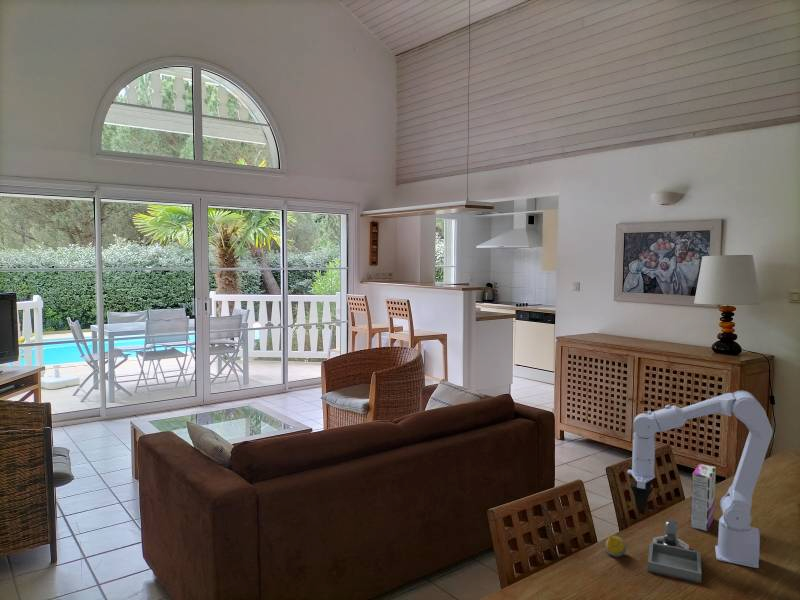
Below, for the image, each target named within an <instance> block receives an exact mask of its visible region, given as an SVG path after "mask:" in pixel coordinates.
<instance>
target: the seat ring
mask: <svg viewBox="0 0 800 600" xmlns="http://www.w3.org/2000/svg"><path fill="white" fill-rule="evenodd" d="M664 540H665V535H660V536H659V535H658V536H654V537H652V542H654V543H663V541H664ZM677 543H678V544H679V547H680V546H681V548H683V549H688V550H690V545H689V544H688V543H686V541H683V540H682V539H680V538H677Z"/></svg>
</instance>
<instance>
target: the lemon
mask: <svg viewBox="0 0 800 600" xmlns="http://www.w3.org/2000/svg"><path fill="white" fill-rule="evenodd" d="M604 549H605V551H606V552H607V554H608V555H610V556H611V557H614V558H619V557H622V556H623V555H624V554H626V551H627V544H626V542H625V540H624V539H623V538H622V537H621V536H620V535H615V534H614V535H610V536H608V537H606V539H605V541H604Z"/></svg>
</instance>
